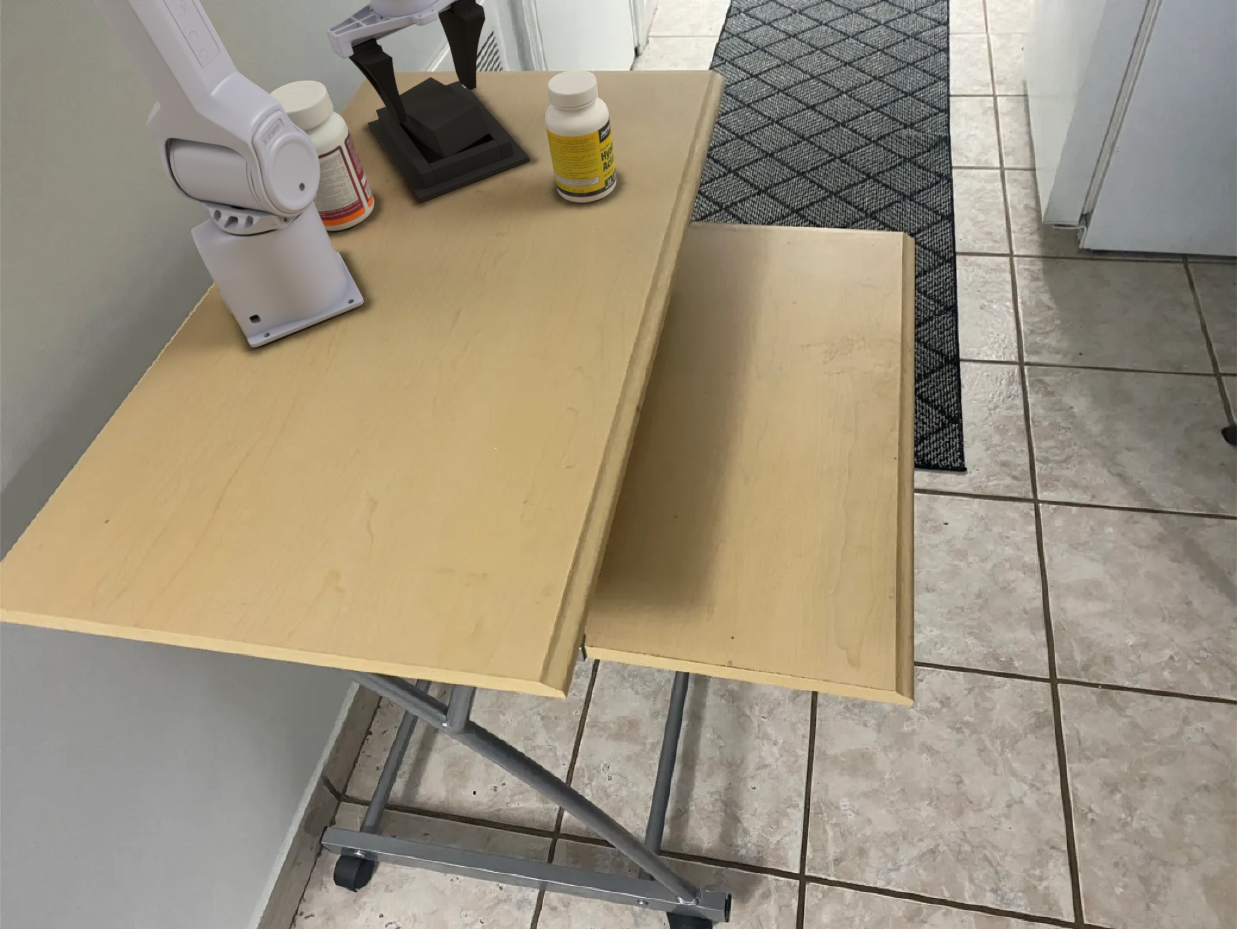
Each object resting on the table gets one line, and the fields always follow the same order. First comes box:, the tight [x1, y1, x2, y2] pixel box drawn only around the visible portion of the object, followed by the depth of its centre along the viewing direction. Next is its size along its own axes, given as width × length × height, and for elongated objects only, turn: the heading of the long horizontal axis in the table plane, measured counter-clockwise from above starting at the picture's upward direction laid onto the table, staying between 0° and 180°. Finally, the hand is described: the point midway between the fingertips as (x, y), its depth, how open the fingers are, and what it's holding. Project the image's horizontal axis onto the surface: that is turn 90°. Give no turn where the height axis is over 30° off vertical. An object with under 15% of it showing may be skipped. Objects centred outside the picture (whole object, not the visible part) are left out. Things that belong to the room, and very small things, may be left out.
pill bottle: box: [269, 79, 375, 232], centre depth 78 cm, size 6×6×11 cm
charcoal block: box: [399, 76, 490, 158], centre depth 86 cm, size 10×5×3 cm, turn 36°
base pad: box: [367, 80, 531, 204], centre depth 87 cm, size 16×11×2 cm
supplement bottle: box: [544, 69, 617, 204], centre depth 77 cm, size 5×5×10 cm
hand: (434, 101), depth 85 cm, fingers open, 7 cm apart
